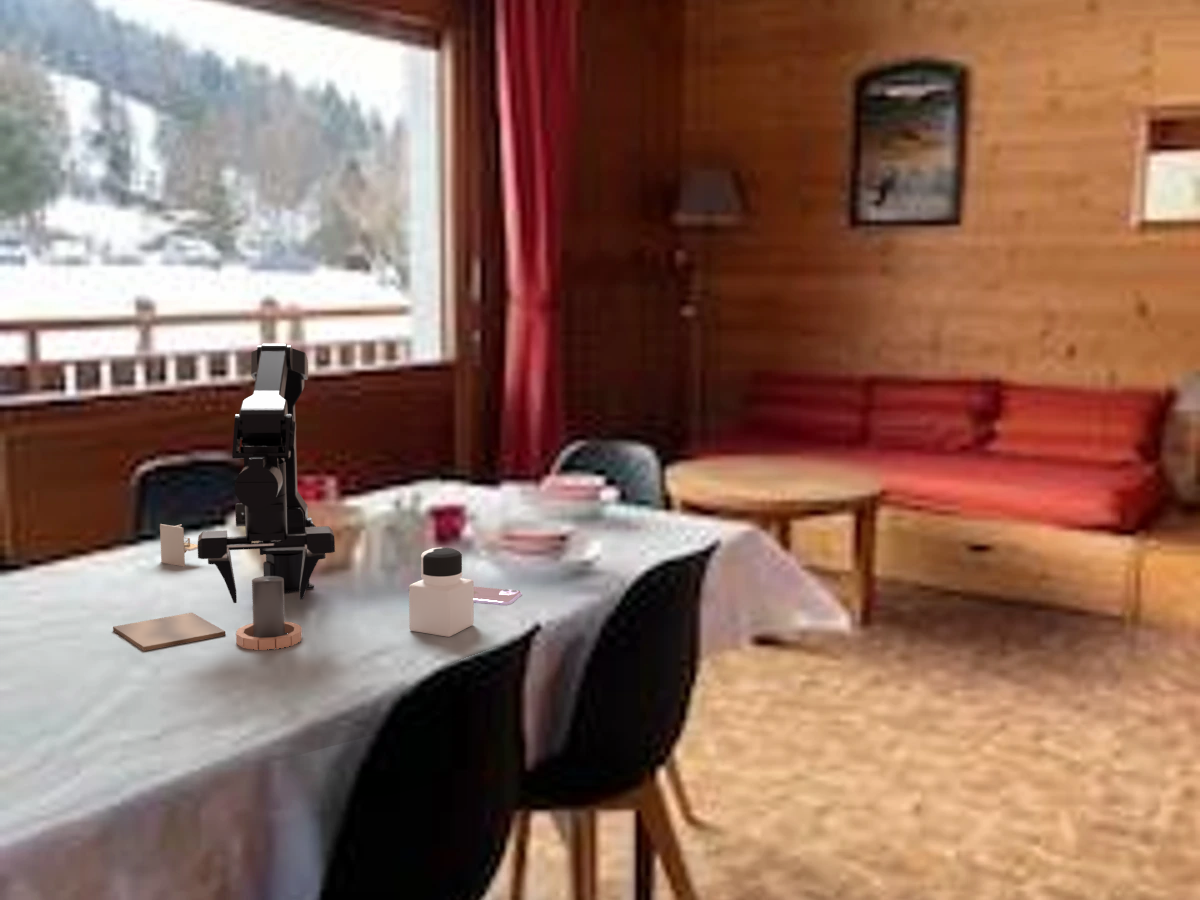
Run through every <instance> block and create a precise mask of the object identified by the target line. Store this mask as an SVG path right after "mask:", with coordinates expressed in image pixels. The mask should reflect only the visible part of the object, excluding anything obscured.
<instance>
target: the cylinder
mask: <svg viewBox="0 0 1200 900" xmlns="http://www.w3.org/2000/svg"><path fill="white" fill-rule="evenodd" d="M251 588H252V589H251V593H252V623H253V634H254V635H253V637H258V638H268V637H278V636H283V635H286V634H285V622H286V621H285V620H286V619H285V618H286V617H285V593H284V579H283V578H282V577H278V576H264V575H263V576H258V577H255V578H253V579H252V580H251Z"/></svg>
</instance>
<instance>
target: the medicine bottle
mask: <svg viewBox="0 0 1200 900" xmlns="http://www.w3.org/2000/svg"><path fill="white" fill-rule="evenodd" d="M462 576H463V554H462V553H461V552H460V551H459V550H457V549H456V548H455V549H454V548H451V547H433V548H429V549H427V550H425V551H423V552H422V553H421V554H420V577H421V580H418V581H415V582H414V583H411V584H410V585H409V587H408V593H409V594H408V595H409V596H408V601H409V602H408V604H409V605H408V607H409V609H408V610H409V612H408V613H409V617H408V618H409V619H408V621H409V624H408V625H409V626H408V627H409V631H410V632H417V633H421V634H422V633H424V634H428V635H435V636H440V637H447V638H450V637H452V636H454V635H456V634H458V633H460V632H462V631H464V630H466V629H468V628H470V627H472V626H473V625H474V614H475V613H474V612H475V611H474V603H475V602H474V587H475V585H474V580H473V579H471V578H470V579H469V578H462Z"/></svg>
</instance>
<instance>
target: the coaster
mask: <svg viewBox="0 0 1200 900" xmlns="http://www.w3.org/2000/svg"><path fill="white" fill-rule="evenodd" d="M112 631H113V632H115V634H118V635H119V636H120V637H122V638H124V639H125V640H127V641H128V642H130V643H131V644H133V645H134V646H135V647H137V648H139V649H140V650H141V651H143V652H145V651H150V650H156V649H157V650H158V649H162V648H166V647H172V646H177V645H182V644H183V645H184V644H188V643H193V642H197V641H204V640H208V639H213V638H218V637H223V636H226V631H225V630H224V629H222V628H221V627H219V626H217V625H215V624H213V623H212V622H210V621H208V620H206V619H204V618H203V617H201V616H199V615H197V614H196V613H194V612H187V613H181V614H175V615H171V616H165V617H160V618H155V619H153V618H152V619H148V620H147V619H146V620H144V621H143V620H142V621H137V622H131V623H126V624H119V625H114V626H113V627H112Z"/></svg>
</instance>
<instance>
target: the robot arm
mask: <svg viewBox="0 0 1200 900" xmlns="http://www.w3.org/2000/svg"><path fill="white" fill-rule="evenodd" d="M256 347H257V348H256V349H255V350H253V351H251V353H250V376H251V377H252V379H253V380H254V385H253V392H252V395H250V396H248V397H246V398H244V400H242V402H241V406H240V409H239V413H238V414H237V413H236V414H235V416H234V425H233V439H232V454H231V456H232V457H231V459H234V460H235V459H239V460H240V459H243V467H242V469H241V471H240V473H239V474H238V476H237V477H236V478H235V479H236V480H235V482H234V492H235V493H234V494H235V495H236V498H237V499H238V501H239V502H240V503H235V507H234V508H235V526H236V527H245V535H244V536H228V530H205V531H202V532H201V533H200V534H199V535H198V539H197V545H198V549H197V559H201V560H206V559H207V563H208V565H215V566H216V568H217V569H218V571H219V573H220V575H221V577H222V579H223V580H224V582H225V585H226V587H227V590H228V593H229V594H230V597H231V599H232V602H233V604H237V603H238V602H237V599H238V597H237V586H236V581H235V573H234V569H233V563H232V554H231V551H240V550H242V551H243V550H259V556H264V555H265V561H263V567H262V568H263V576H278V577H282V578H283V579H284V594H287V593H293V592H299V600H303V599H304V597H305V594H306V590H311V589H314V588H315V585H314V584H313V583H310V579H311V576H312V574H313V572H314V570H315V568H316V566H317V563H318V562H319V560H325V559H326V557H327V556H326V554H333V553H335V552H336V550H335V549H336V548H335V547H336V543H335V542H336V541H335V533H334V531H333V529H332V528H331V527H330V526H327V525H326V526H323V525H322V526H316V525H315V524H314V522H313V519H312V517H309V513H308V512H309V511H308V508H309V507H308V504H307V503H306V501H305V499H303V497H302V495H301V494H300V492H299V490H298V467H297V466H298V462H297V460H298V459H297V422H296V403H297V402H298V400H299V398H300V396H301V395H302V393H303V390H304V388H305V380H306V381H308V379H309V360H308V356H307V354H306V352H304V351H302V350H298V349H296V348H293V347H292V345H290V344H289V345H288V343H262V344H261V345H260V344H259V345H257V346H256Z"/></svg>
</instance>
